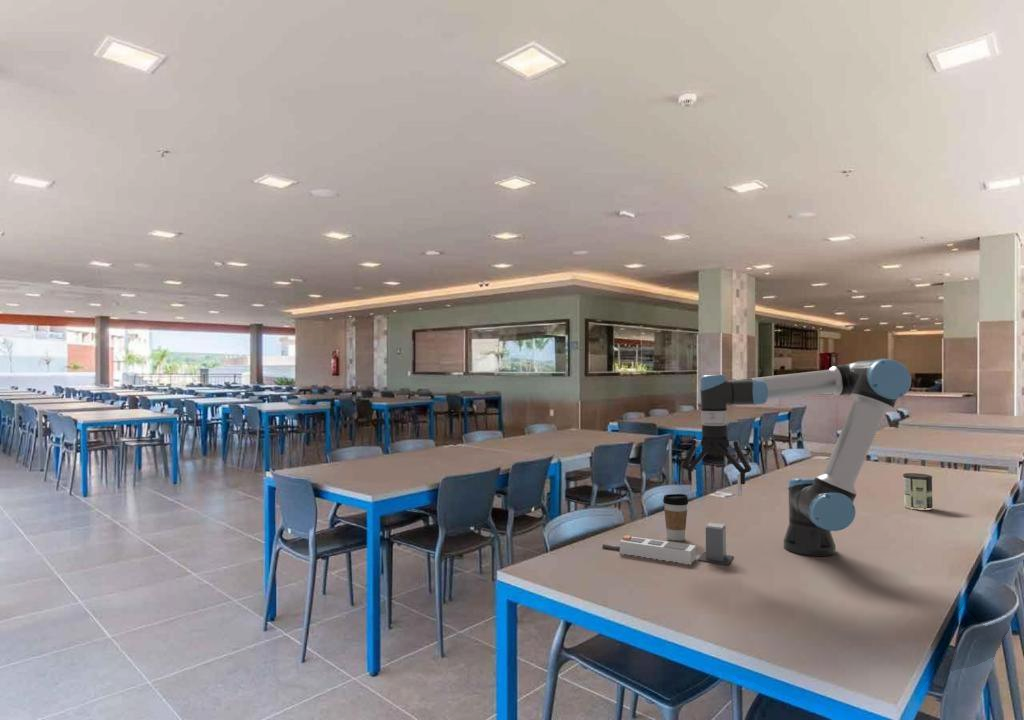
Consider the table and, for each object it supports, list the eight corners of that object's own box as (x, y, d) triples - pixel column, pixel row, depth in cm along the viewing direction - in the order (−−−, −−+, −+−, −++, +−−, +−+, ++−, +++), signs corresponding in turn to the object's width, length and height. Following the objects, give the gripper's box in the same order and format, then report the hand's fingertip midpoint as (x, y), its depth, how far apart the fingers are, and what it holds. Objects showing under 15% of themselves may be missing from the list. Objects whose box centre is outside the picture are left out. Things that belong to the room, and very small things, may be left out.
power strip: (695, 558, 182) (695, 542, 182) (690, 564, 176) (690, 548, 176) (606, 545, 197) (606, 530, 197) (599, 550, 190) (599, 535, 191)
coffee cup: (689, 542, 200) (689, 498, 200) (663, 541, 201) (663, 497, 202) (687, 535, 208) (687, 493, 208) (662, 534, 210) (662, 492, 210)
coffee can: (921, 505, 256) (921, 472, 256) (938, 511, 245) (938, 477, 246) (898, 505, 256) (897, 472, 256) (913, 511, 245) (913, 477, 246)
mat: (733, 557, 183) (733, 556, 183) (728, 565, 176) (728, 564, 176) (703, 553, 188) (703, 551, 188) (697, 560, 180) (697, 559, 180)
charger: (725, 556, 183) (725, 524, 183) (723, 561, 178) (722, 527, 179) (709, 554, 185) (708, 522, 185) (705, 558, 181) (705, 525, 181)
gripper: (671, 424, 186) (673, 492, 185) (755, 426, 173) (758, 498, 173) (676, 422, 192) (679, 488, 192) (759, 424, 180) (761, 494, 179)
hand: (716, 493), depth 182 cm, fingers open, 13 cm apart
